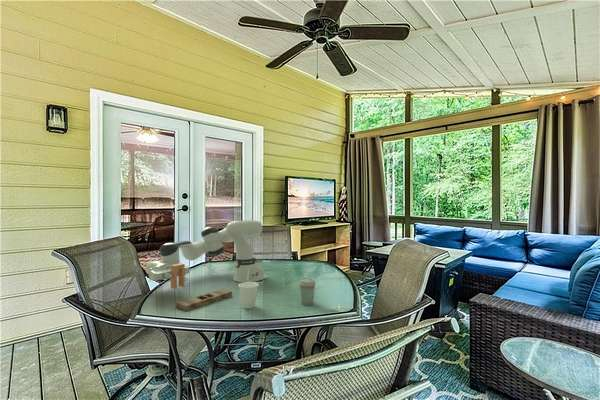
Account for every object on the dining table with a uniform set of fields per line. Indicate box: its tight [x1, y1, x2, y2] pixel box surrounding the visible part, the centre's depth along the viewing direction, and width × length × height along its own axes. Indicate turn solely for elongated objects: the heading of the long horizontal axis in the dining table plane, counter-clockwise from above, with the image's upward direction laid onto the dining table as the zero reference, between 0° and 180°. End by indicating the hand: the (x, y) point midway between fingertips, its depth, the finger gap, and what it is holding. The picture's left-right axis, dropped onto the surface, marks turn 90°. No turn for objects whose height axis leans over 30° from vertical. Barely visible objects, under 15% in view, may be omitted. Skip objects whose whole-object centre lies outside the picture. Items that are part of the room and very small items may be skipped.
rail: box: [175, 288, 233, 312], centre depth 154 cm, size 28×8×2 cm, turn 143°
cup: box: [238, 281, 259, 310], centre depth 147 cm, size 10×10×11 cm
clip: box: [170, 262, 186, 290], centre depth 158 cm, size 6×4×12 cm, turn 144°
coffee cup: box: [298, 277, 316, 306], centre depth 152 cm, size 8×8×12 cm
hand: (178, 274), depth 158 cm, fingers closed on clip, 6 cm apart
